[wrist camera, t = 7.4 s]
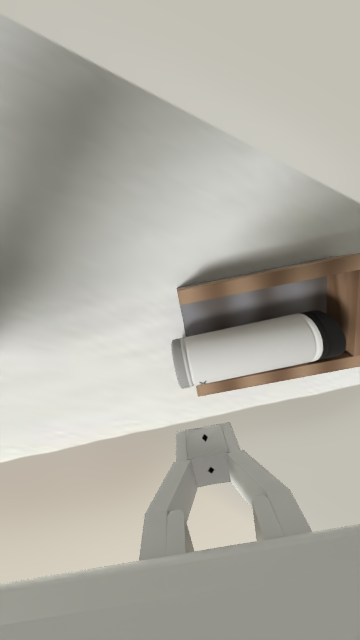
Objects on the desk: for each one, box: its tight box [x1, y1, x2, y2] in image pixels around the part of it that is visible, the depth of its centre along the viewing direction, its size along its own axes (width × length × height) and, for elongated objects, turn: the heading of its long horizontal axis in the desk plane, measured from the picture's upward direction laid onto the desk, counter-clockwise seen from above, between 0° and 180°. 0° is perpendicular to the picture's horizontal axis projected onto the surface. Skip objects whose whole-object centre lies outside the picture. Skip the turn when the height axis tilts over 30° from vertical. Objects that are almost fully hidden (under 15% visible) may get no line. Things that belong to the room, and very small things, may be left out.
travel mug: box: [172, 310, 346, 388], centre depth 23 cm, size 6×7×20 cm
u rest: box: [177, 254, 360, 396], centre depth 23 cm, size 22×14×5 cm, turn 101°
